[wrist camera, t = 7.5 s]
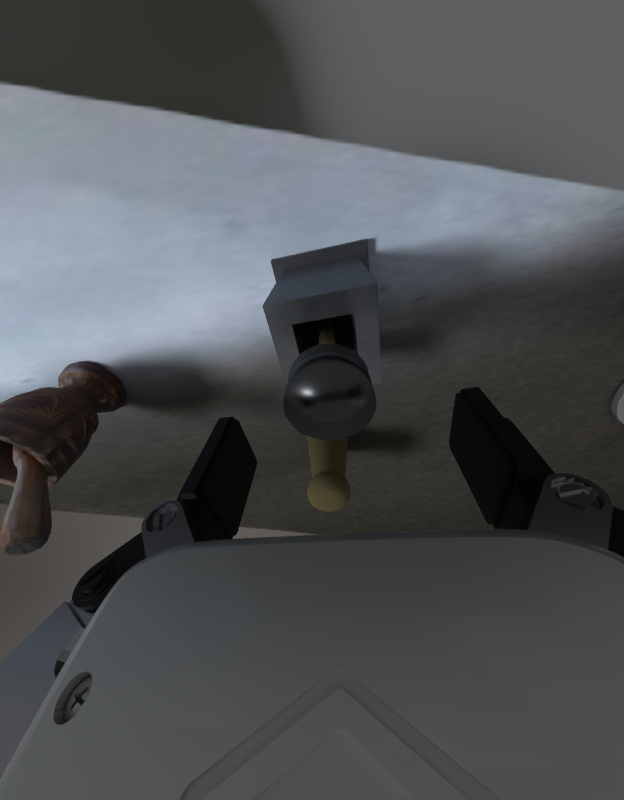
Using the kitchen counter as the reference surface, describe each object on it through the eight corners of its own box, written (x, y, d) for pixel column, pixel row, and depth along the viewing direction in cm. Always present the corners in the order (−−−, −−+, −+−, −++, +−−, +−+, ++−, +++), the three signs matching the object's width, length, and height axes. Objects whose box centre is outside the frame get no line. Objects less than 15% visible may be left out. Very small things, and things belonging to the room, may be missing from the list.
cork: (350, 423, 38) (359, 490, 29) (345, 452, 41) (351, 520, 33) (308, 421, 38) (304, 487, 29) (306, 450, 41) (302, 517, 33)
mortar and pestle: (139, 357, 33) (-39, 506, 16) (164, 412, 38) (46, 566, 22) (48, 357, 33) (-213, 503, 17) (84, 411, 38) (-89, 563, 22)
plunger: (347, 279, 23) (373, 359, 11) (352, 328, 26) (378, 434, 14) (297, 289, 24) (272, 375, 12) (307, 335, 26) (295, 444, 14)
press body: (365, 238, 24) (394, 261, 15) (373, 348, 31) (396, 413, 21) (272, 259, 26) (241, 292, 16) (297, 360, 32) (287, 427, 22)
